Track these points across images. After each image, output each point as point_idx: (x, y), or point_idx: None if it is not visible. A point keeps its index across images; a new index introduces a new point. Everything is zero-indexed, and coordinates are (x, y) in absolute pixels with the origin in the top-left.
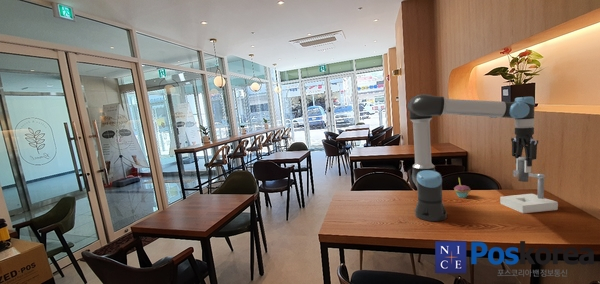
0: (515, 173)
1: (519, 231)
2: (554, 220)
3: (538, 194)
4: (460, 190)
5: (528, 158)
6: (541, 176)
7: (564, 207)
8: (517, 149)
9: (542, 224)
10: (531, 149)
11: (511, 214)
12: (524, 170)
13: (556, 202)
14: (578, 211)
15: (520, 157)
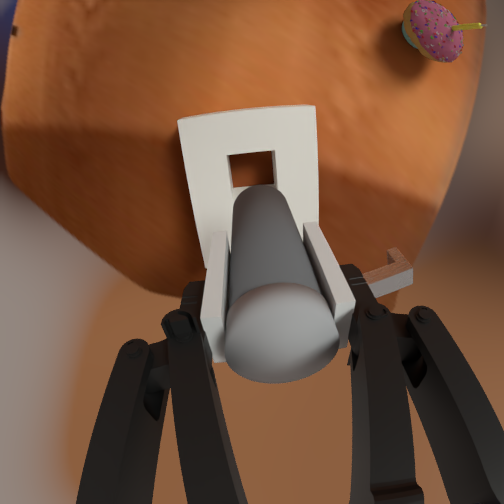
0: (394, 263)
1: (53, 39)
2: (117, 179)
3: None
4: (415, 3)
5: (169, 349)
6: None
7: None
8: (389, 425)
9: (88, 124)
10: (94, 473)
11: (178, 71)
12: (224, 239)
13: (204, 263)
14: None
15: (304, 332)
